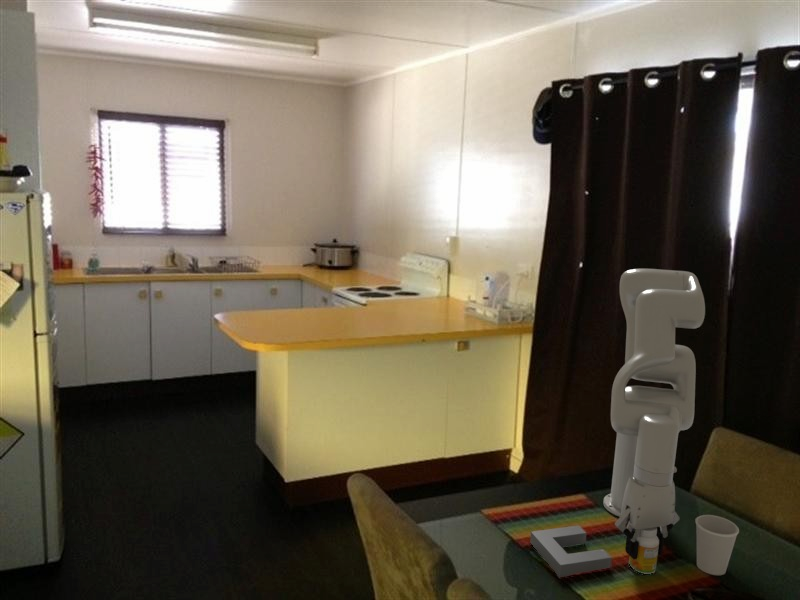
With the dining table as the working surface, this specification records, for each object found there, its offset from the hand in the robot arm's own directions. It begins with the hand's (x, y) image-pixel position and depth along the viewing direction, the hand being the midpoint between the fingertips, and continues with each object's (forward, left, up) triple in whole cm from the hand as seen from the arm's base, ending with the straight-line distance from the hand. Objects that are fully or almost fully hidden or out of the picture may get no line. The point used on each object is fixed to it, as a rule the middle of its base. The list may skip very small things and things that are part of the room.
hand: (643, 552), depth 140 cm
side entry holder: (+13, -7, -4) cm, 15 cm away
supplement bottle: (0, 0, -4) cm, 4 cm away
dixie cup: (-15, +3, -4) cm, 16 cm away
